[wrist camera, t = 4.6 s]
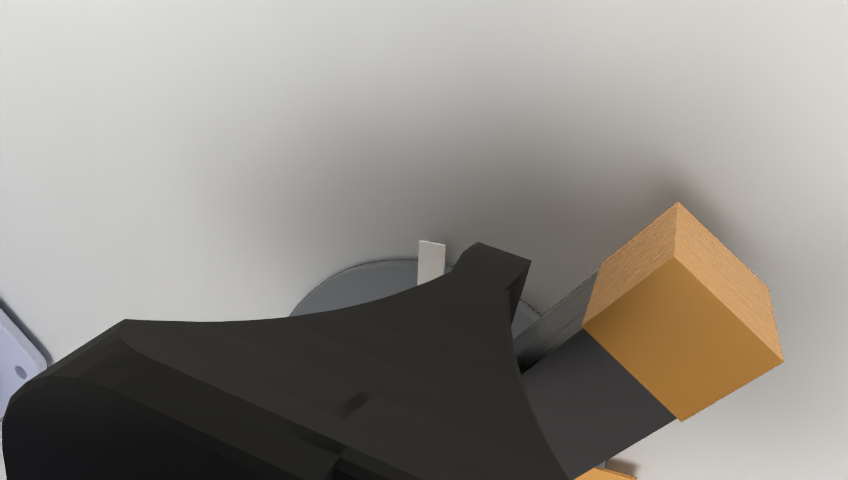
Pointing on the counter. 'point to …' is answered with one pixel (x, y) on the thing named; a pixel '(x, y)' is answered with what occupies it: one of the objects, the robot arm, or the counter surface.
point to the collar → (646, 342)
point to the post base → (399, 277)
